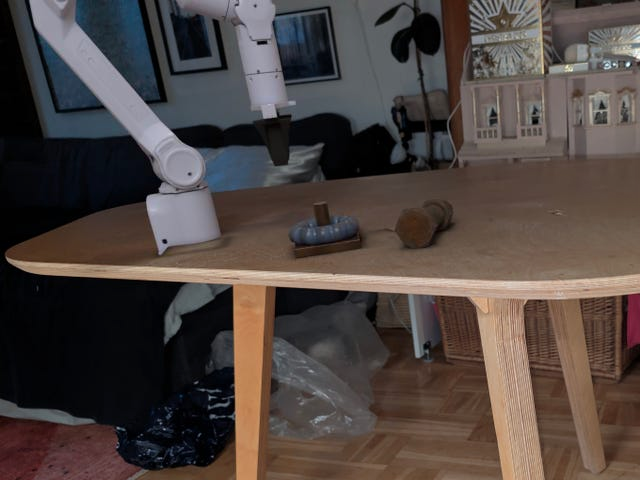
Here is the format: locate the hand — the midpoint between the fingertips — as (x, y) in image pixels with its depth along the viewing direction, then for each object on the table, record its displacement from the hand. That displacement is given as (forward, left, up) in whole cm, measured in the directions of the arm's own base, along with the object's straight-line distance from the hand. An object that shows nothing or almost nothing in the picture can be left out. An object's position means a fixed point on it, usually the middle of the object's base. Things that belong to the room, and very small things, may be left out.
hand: (282, 163), depth 114 cm
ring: (+5, -20, -8) cm, 22 cm away
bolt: (+20, -23, -11) cm, 32 cm away
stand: (+5, -20, -10) cm, 23 cm away
